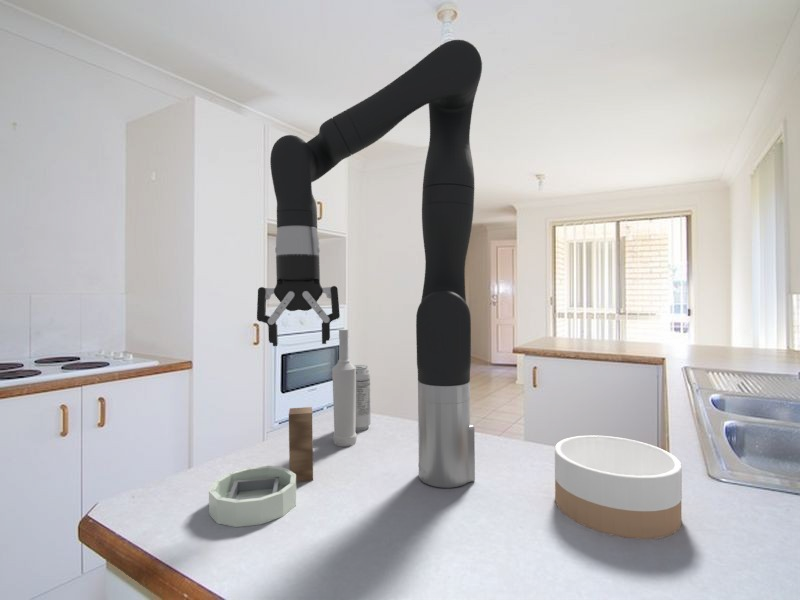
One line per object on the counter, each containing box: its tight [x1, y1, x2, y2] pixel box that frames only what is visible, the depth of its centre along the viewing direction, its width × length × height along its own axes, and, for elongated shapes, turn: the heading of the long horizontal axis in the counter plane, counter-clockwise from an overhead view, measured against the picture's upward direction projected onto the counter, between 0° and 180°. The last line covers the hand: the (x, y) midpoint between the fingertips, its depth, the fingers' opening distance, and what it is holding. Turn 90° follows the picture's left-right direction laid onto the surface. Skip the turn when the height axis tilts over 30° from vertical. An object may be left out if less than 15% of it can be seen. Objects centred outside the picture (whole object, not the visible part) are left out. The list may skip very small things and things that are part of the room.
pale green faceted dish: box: [208, 465, 297, 528], centre depth 68 cm, size 13×13×4 cm
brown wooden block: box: [288, 406, 314, 483], centre depth 78 cm, size 4×4×12 cm
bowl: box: [554, 434, 683, 540], centre depth 66 cm, size 17×17×8 cm
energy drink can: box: [352, 364, 372, 432], centre depth 106 cm, size 6×6×15 cm
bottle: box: [331, 328, 358, 447], centre depth 95 cm, size 5×5×25 cm
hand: (299, 344), depth 78 cm, fingers open, 8 cm apart
